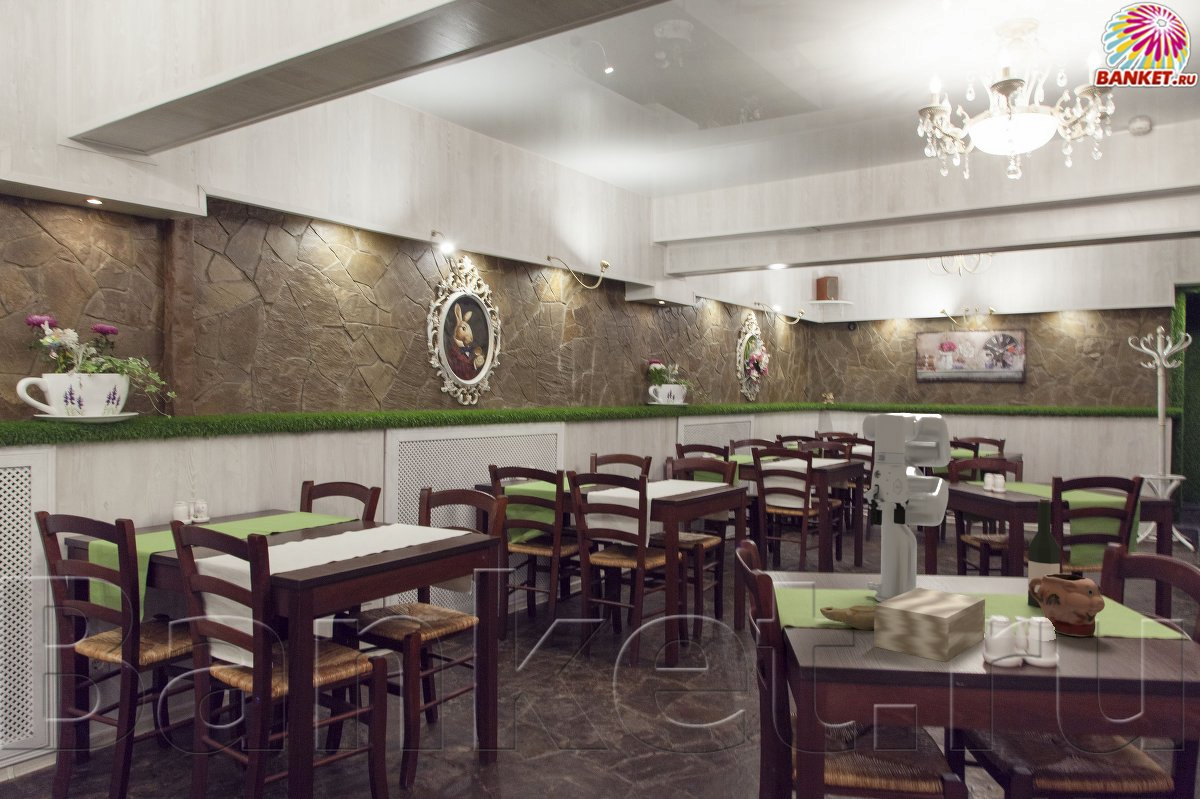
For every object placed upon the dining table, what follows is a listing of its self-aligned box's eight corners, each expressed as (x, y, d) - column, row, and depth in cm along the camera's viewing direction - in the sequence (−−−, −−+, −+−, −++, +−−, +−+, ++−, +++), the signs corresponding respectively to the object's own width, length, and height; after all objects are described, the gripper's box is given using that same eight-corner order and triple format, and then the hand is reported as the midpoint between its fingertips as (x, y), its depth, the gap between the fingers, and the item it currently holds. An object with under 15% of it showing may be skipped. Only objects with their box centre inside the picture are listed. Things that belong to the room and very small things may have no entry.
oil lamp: (817, 621, 206) (818, 602, 206) (870, 620, 208) (870, 601, 208) (835, 633, 195) (836, 612, 195) (891, 631, 197) (891, 611, 197)
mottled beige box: (874, 646, 184) (874, 604, 184) (917, 625, 204) (918, 587, 204) (945, 662, 174) (946, 618, 174) (984, 638, 193) (985, 598, 193)
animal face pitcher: (1011, 623, 207) (1012, 569, 207) (1041, 618, 212) (1041, 566, 213) (1089, 644, 189) (1090, 585, 189) (1119, 638, 195) (1120, 581, 195)
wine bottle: (1052, 602, 231) (1053, 498, 231) (1065, 609, 223) (1067, 501, 223) (1021, 601, 232) (1022, 497, 232) (1034, 608, 224) (1035, 500, 224)
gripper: (880, 459, 207) (878, 526, 206) (921, 461, 216) (920, 525, 215) (856, 458, 213) (855, 523, 212) (897, 460, 223) (896, 522, 222)
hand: (887, 524), depth 214 cm, fingers open, 9 cm apart
